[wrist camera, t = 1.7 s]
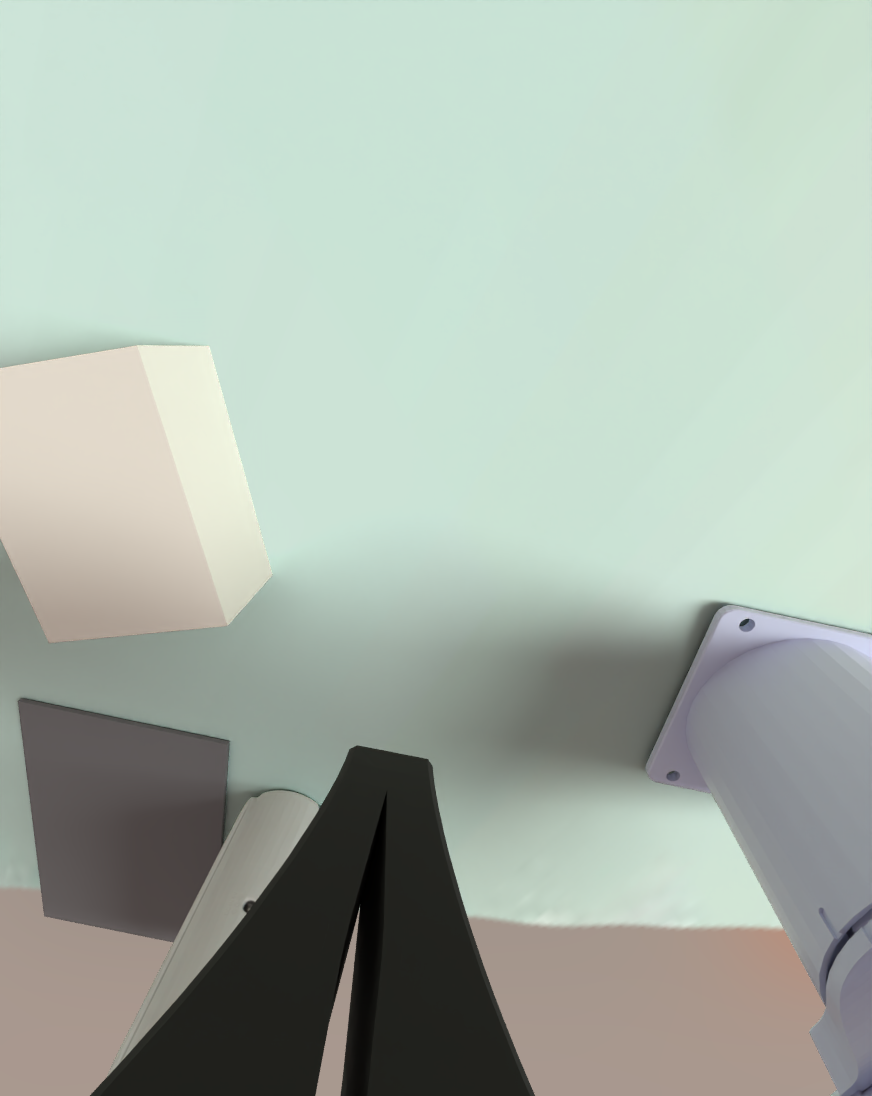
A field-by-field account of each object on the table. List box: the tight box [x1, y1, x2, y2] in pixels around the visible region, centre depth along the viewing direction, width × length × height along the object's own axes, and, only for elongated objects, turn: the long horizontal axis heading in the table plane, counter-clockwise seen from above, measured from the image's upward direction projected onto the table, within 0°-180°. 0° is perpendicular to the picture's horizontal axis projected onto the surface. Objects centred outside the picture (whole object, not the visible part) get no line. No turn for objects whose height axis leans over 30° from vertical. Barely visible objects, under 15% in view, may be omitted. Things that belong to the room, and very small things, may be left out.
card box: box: [0, 345, 273, 643], centre depth 17 cm, size 6×8×4 cm
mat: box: [18, 698, 229, 942], centre depth 25 cm, size 9×14×1 cm, turn 169°
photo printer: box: [107, 790, 319, 1077], centre depth 19 cm, size 10×4×12 cm, turn 170°
